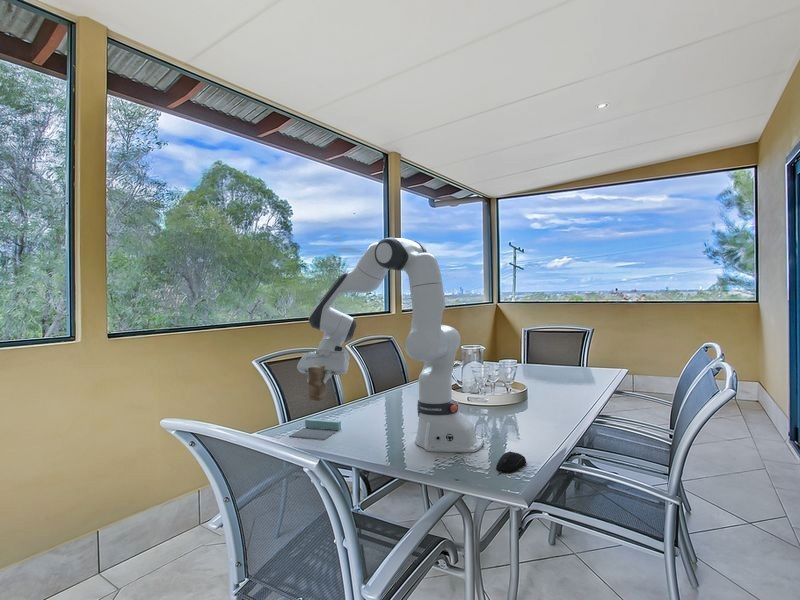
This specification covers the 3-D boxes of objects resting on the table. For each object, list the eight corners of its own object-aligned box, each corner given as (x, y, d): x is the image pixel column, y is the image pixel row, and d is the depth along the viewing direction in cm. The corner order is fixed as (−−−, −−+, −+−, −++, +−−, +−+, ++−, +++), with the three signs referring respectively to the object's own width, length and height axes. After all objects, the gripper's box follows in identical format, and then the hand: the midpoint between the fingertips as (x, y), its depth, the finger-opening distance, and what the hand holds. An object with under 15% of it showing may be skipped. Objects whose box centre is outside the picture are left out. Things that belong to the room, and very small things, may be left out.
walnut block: (325, 398, 170) (324, 365, 170) (319, 400, 166) (318, 367, 165) (315, 397, 171) (314, 365, 171) (309, 400, 167) (308, 367, 167)
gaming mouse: (486, 474, 125) (486, 460, 125) (510, 458, 136) (509, 445, 136) (507, 480, 121) (507, 465, 121) (530, 462, 133) (529, 449, 132)
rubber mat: (336, 432, 165) (336, 431, 165) (324, 440, 156) (324, 439, 156) (302, 429, 169) (302, 428, 169) (289, 436, 161) (289, 435, 161)
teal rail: (341, 429, 169) (340, 421, 169) (338, 430, 167) (338, 422, 167) (308, 426, 173) (307, 418, 173) (305, 427, 171) (305, 419, 171)
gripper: (301, 347, 178) (288, 376, 169) (348, 348, 171) (337, 378, 162) (307, 356, 182) (295, 385, 173) (353, 358, 176) (343, 388, 167)
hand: (316, 382), depth 168 cm, fingers closed on walnut block, 4 cm apart
